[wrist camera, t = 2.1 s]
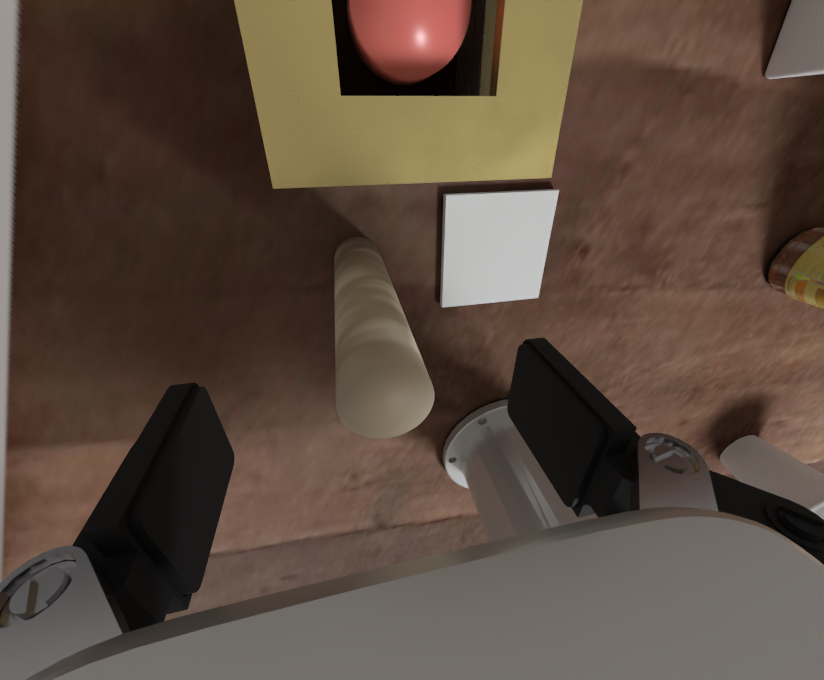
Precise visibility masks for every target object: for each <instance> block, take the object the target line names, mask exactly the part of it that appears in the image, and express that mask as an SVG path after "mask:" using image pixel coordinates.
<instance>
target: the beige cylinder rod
mask: <svg viewBox="0 0 824 680" xmlns="http://www.w3.org/2000/svg"><path fill="white" fill-rule="evenodd" d="M334 289H335V372H336V411H337V415H338V417H339V419H340V421H341V422H342V424H343V425H344V426H345V427H346V428H347V429H349V430H350V431H352V432H353V433H355V434H357V435H360V436H363V437H367V438H374V439H384V438H391V437H396V436H399V435H402V434H404V433H407V432H409V431H410V430H412V429H414V428H415V427H417V426H418V425H419V424H420V423H421V422H422V421H423V420H424V419H425V418H426V417H427V416H428V414H429V413H430V411H431V409H432V406H433V403H434V397H435V394H434V388H433V385H432V382H431V380H430V377H429V375H428V372H427V370H426V367H425V365H424V362H423V360H422V357H421V355H420V352H419V350H418V347H417V345H416V342H415V340H414V337H413V335H412V332H411V330H410V327H409V325H408V322H407V320H406V317H405V315H404V312H403V310H402V307H401V305H400V302H399V300H398V297H397V295H396V292H395V290H394V287H393V285H392V282H391V280H390V277H389V275H388V272H387V270H386V267H385V265H384V262H383V260H382V257H381V255H380V252H379V250H378V248H377V246H376V245H375V244H374V243H373V242H372V241H370V240H369V239H366V238H364V237H351V238H348V239H346V240H344V241H343V242H341V243H340V244H339V246H338V247H337V249H336V251H335V255H334Z"/></svg>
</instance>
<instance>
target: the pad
mask: <svg viewBox="0 0 824 680" xmlns="http://www.w3.org/2000/svg"><path fill="white" fill-rule="evenodd" d="M558 193H559V190H556V189H544V190H522V191H499V192H477V193H455V194H443V225H442V257H441V288H440V305H441V307H442V308H443V307H453V306H463V305H473V304H483V303H492V302H502V301H512V300H522V299H532V298H538V296H539V291H540V286H541V281H542V276H543V270H544V265H545V260H546V255H547V250H548V244H549V239H550V234H551V229H552V224H553V219H554V213H555V208H556V203H557V198H558Z"/></svg>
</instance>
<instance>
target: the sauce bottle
mask: <svg viewBox="0 0 824 680" xmlns="http://www.w3.org/2000/svg"><path fill="white" fill-rule="evenodd" d="M768 282H769V284H770V286H771V287H772V288H774V289H775V290H777V291H778V292H781V293H784V294H787V295H788V296H789V297H791V298H794V299H797V300H800V301H803V302H805V303H808V304H811V305H814V306H817V307H820V308H823V309H824V227H817V228H812V229H810V230H807V231H804V232H802V233H801V234H799V235H797V236H796V237H795V238H793V239H791V240H790V241H789V242H788V243H787V244H786V245H785V246H784V247H783V248H782V250H781V251H780V252H779V253H778V254H777V256H776V257H775V258H774V260H773V261H772V263H771V266H770V269H769V273H768Z"/></svg>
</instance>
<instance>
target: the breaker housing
mask: <svg viewBox="0 0 824 680" xmlns="http://www.w3.org/2000/svg"><path fill="white" fill-rule="evenodd" d="M234 2H235V7H236V12H237V17H238V22H239V26H240V31H241V36H242V41H243V46H244V51H245V55H246V60H247V65H248V70H249V75H250V80H251V85H252V89H253V94H254V99H255V104H256V109H257V114H258V118H259V123H260V128H261V133H262V138H263V143H264V148H265V152H266V157H267V162H268V167H269V172H270V177H271V181H272V186H273V189H280V188H305V187H330V186H356V185H381V184H406V183H432V182H457V181H482V180H508V179H533V178H551V176H552V171H553V165H554V159H555V154H556V148H557V143H558V137H559V131H560V126H561V120H562V115H563V109H564V104H565V98H566V92H567V87H568V81H569V76H570V70H571V65H572V59H573V53H574V48H575V42H576V37H577V31H578V25H579V20H580V14H581V9H582V3H583V0H472V4H471V14H470V19H469V24H468V28H467V31H466V34H465V37H464V39H463V42H462V44H461V46H460V47H459V49H458V51H457V58H456V82H455V96H341V92H340V82H339V72H338V61H337V51H336V41H335V31H334V21H333V11H332V1H331V0H234Z"/></svg>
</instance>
